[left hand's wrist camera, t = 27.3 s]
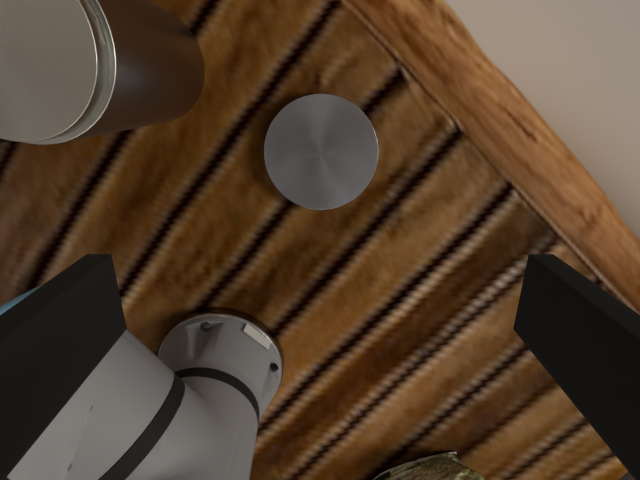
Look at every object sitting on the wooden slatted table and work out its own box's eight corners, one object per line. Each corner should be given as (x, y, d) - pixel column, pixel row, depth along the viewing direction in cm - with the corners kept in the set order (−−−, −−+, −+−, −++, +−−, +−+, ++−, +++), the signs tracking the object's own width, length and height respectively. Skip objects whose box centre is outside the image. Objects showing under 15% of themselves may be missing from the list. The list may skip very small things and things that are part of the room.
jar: (146, -24, 35) (-31, -140, 17) (226, 75, 38) (145, 61, 20) (72, 56, 37) (-151, 26, 20) (153, 143, 40) (22, 185, 22)
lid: (303, 224, 43) (302, 228, 42) (243, 132, 40) (240, 134, 38) (395, 171, 41) (398, 174, 40) (341, 69, 38) (342, 68, 36)
